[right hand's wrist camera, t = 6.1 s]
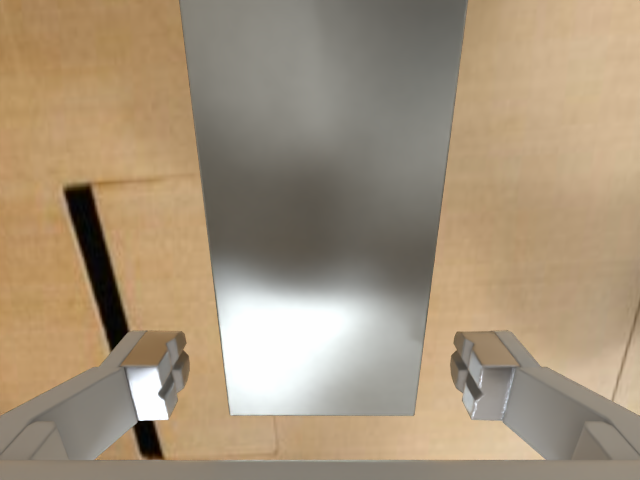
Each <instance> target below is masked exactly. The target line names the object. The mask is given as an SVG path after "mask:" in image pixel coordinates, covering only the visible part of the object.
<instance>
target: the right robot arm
mask: <svg viewBox="0 0 640 480" xmlns="http://www.w3.org/2000/svg"><path fill="white" fill-rule="evenodd" d="M185 345H186V339H185V334H184V333H183V332H182V331H130V332H128V333H127V334H126V335H125V337H124V338H123V339H122V340H121V341H120V342H119V344H118V345H117V346H116V347H115V348H114V350H113V351H112V352H111V353H110V354H109V355H108V357H107V358H106V359H105V360H104V361H103V363H102V364H101V365H100V366H99V367H92V368H91V369H89V370H87V371H85V372H83V373H81V374H79V375H77V376H75V377H73V378H71V379H70V380H68V381H66V382H64V383H62V384H60V385H58V386H56V387H54V388H52V389H50V390H49V391H47V392H45V393H43V394H41V395H39V396H37V397H35V398H33V399H31V400H29V401H28V402H26V403H24V404H22V405H20V406H18V407H16V408H14V409H12V410H10V411H8V412H7V413H5V414H3V415H1V416H0V480H640V416H639V415H637V414H635V413H633V412H631V411H629V410H627V409H626V408H624V407H622V406H620V405H618V404H616V403H614V402H612V401H610V400H608V399H607V398H605V397H603V396H601V395H599V394H597V393H595V392H593V391H591V390H589V389H588V388H586V387H584V386H582V385H580V384H578V383H576V382H574V381H572V380H570V379H568V378H567V377H565V376H563V375H561V374H559V373H557V372H555V371H553V370H551V369H549V368H548V367H541V366H540V365H539V364H538V363H537V361H536V360H535V359H534V358H533V357H532V355H531V354H530V353H529V352H528V351H527V350H526V348H525V347H524V346H523V345H522V344H521V343H520V341H519V340H518V339H517V338H516V337H515V335H514V334H513V333H512V332H510V331H508V330H504V331H478V332H457V333H456V335H455V338H454V345H455V347H456V349H457V351H456V352H455V353H454V354H453V355H452V356H451V363H450V367H451V376H452V379H453V382H454V385H455V387H456V388H457V389H458V390H459V391H461V392H462V393H463V398H462V401H463V403H464V406H465V408H466V410H467V412H468V414H469V416H470V418H471V420H499V421H503V423H504V424H505V425H507V426H508V427H509V428H510V429H511V430H512V431H513V432H515V433H516V434H517V435H518V436H519V437H520V438H522V439H523V440H524V441H525V442H526V443H527V444H528V445H530V446H531V447H532V448H533V449H534V450H535V451H537V452H538V453H539V454H540V455H541V456H542V457H544V458H545V459H546V460H94V459H95V458H97V457H98V456H99V455H100V454H101V453H102V452H104V451H105V450H106V449H107V448H108V447H109V446H110V445H112V444H113V443H114V442H115V441H116V440H117V439H119V438H120V437H121V436H122V435H123V434H124V433H126V432H127V431H128V430H129V429H130V428H131V427H133V426H134V425H135V424H136V423H137V421H141V420H169V418H170V416H171V414H172V412H173V410H174V408H175V406H176V403H177V401H178V398H177V393H178V392H179V391H181V390H182V389H183V388H184V387H185V384H186V382H187V380H188V375H189V367H190V362H189V356H188V355H187V354H186V353H185V352H184V351H183V349H184V347H185Z"/></svg>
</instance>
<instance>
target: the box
mask: <svg viewBox="0 0 640 480" xmlns="http://www.w3.org/2000/svg"><path fill="white" fill-rule="evenodd" d="M179 3H180V12H181V20H182V28H183V36H184V45H185V53H186V61H187V69H188V77H189V86H190V94H191V102H192V110H193V118H194V127H195V135H196V143H197V151H198V159H199V168H200V176H201V184H202V192H203V201H204V209H205V217H206V225H207V233H208V242H209V250H210V258H211V266H212V274H213V283H214V291H215V299H216V307H217V316H218V324H219V332H220V340H221V348H222V357H223V365H224V373H225V381H226V389H227V398H228V406H229V414H230V415H231V416H414V414H415V406H416V399H417V391H418V383H419V375H420V368H421V360H422V352H423V345H424V337H425V329H426V321H427V314H428V306H429V298H430V290H431V283H432V275H433V267H434V260H435V252H436V244H437V236H438V229H439V221H440V213H441V206H442V198H443V190H444V182H445V175H446V167H447V159H448V151H449V144H450V136H451V128H452V121H453V113H454V105H455V97H456V90H457V82H458V74H459V67H460V59H461V51H462V43H463V36H464V28H465V20H466V13H467V5H468V0H179Z"/></svg>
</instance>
